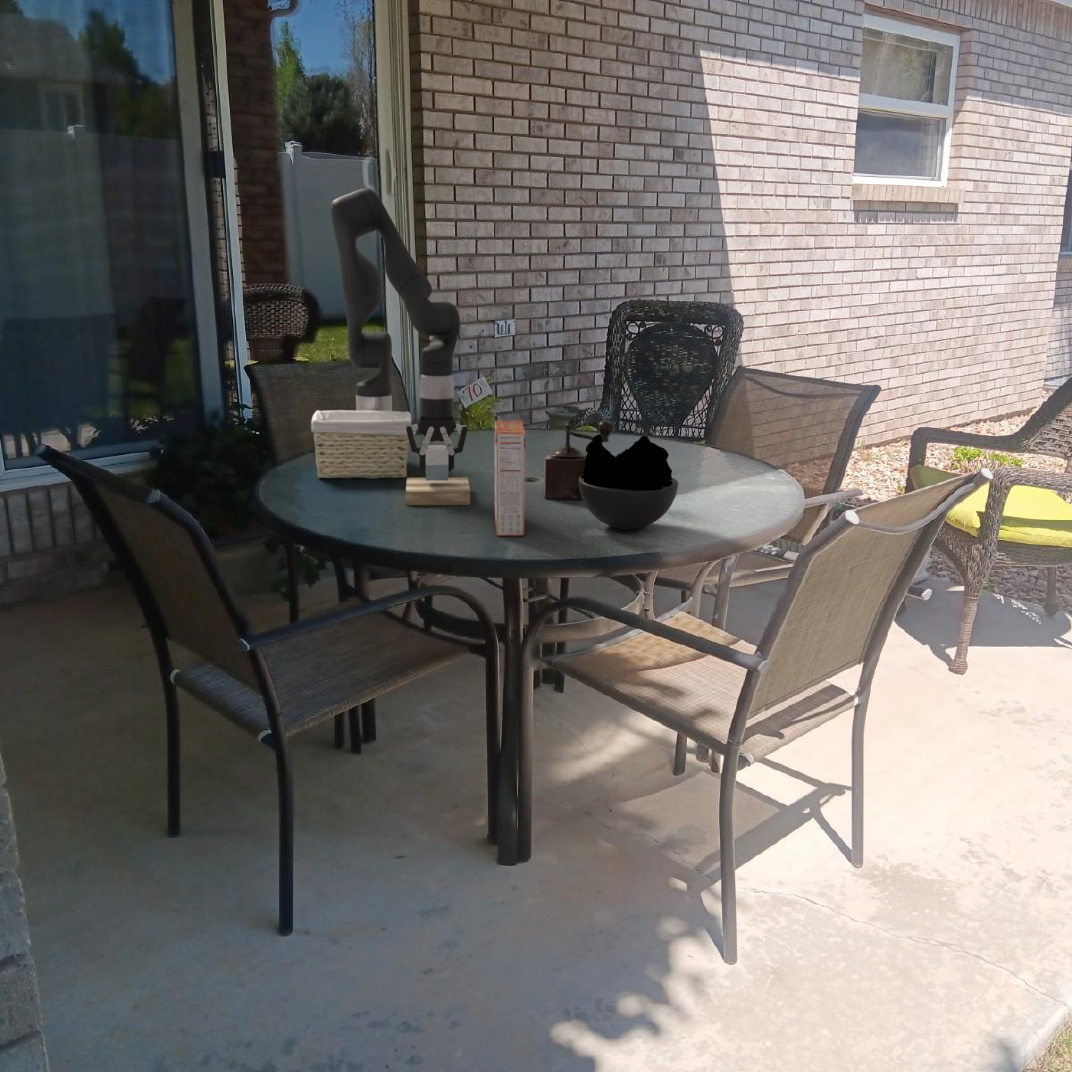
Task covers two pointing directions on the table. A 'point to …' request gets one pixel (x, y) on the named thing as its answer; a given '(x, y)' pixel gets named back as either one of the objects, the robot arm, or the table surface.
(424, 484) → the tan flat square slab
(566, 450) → the wooden coffee grinder
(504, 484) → the cracker box
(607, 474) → the bowl of black rocks
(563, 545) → the table surface
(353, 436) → the storage basket
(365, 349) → the robot arm
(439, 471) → the gray block
